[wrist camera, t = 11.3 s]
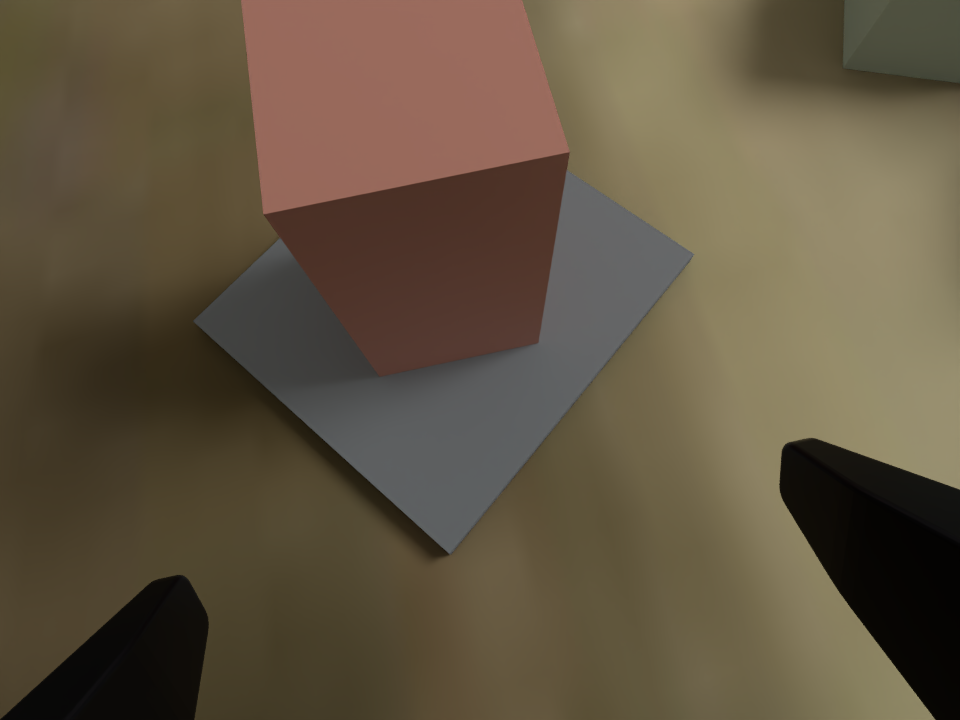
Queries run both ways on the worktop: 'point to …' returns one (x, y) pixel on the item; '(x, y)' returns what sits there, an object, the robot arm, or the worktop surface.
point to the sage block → (903, 38)
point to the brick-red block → (410, 168)
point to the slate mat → (450, 365)
